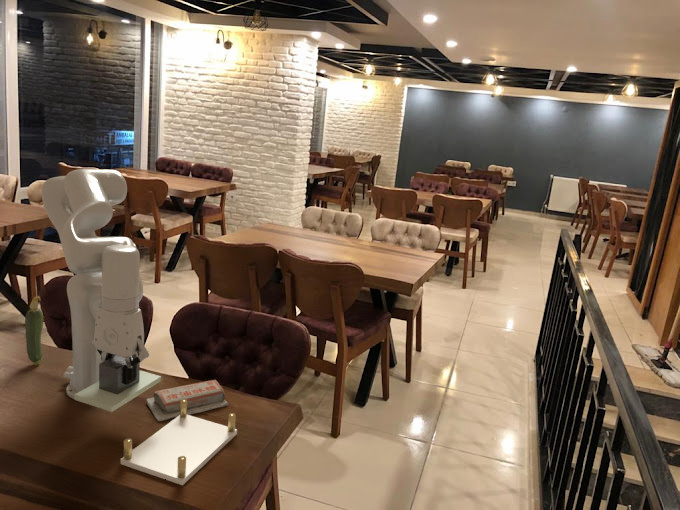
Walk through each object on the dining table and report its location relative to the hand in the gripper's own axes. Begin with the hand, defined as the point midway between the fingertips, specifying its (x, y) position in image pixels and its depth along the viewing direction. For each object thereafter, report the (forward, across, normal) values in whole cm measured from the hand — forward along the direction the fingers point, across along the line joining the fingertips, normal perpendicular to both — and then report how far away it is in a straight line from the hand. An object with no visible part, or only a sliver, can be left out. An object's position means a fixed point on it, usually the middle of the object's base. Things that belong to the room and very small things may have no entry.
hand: (119, 378), depth 124 cm
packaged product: (+14, +6, +17) cm, 23 cm away
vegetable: (+14, -42, +16) cm, 47 cm away
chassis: (+13, +17, +1) cm, 21 cm away
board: (+3, 0, 0) cm, 3 cm away
